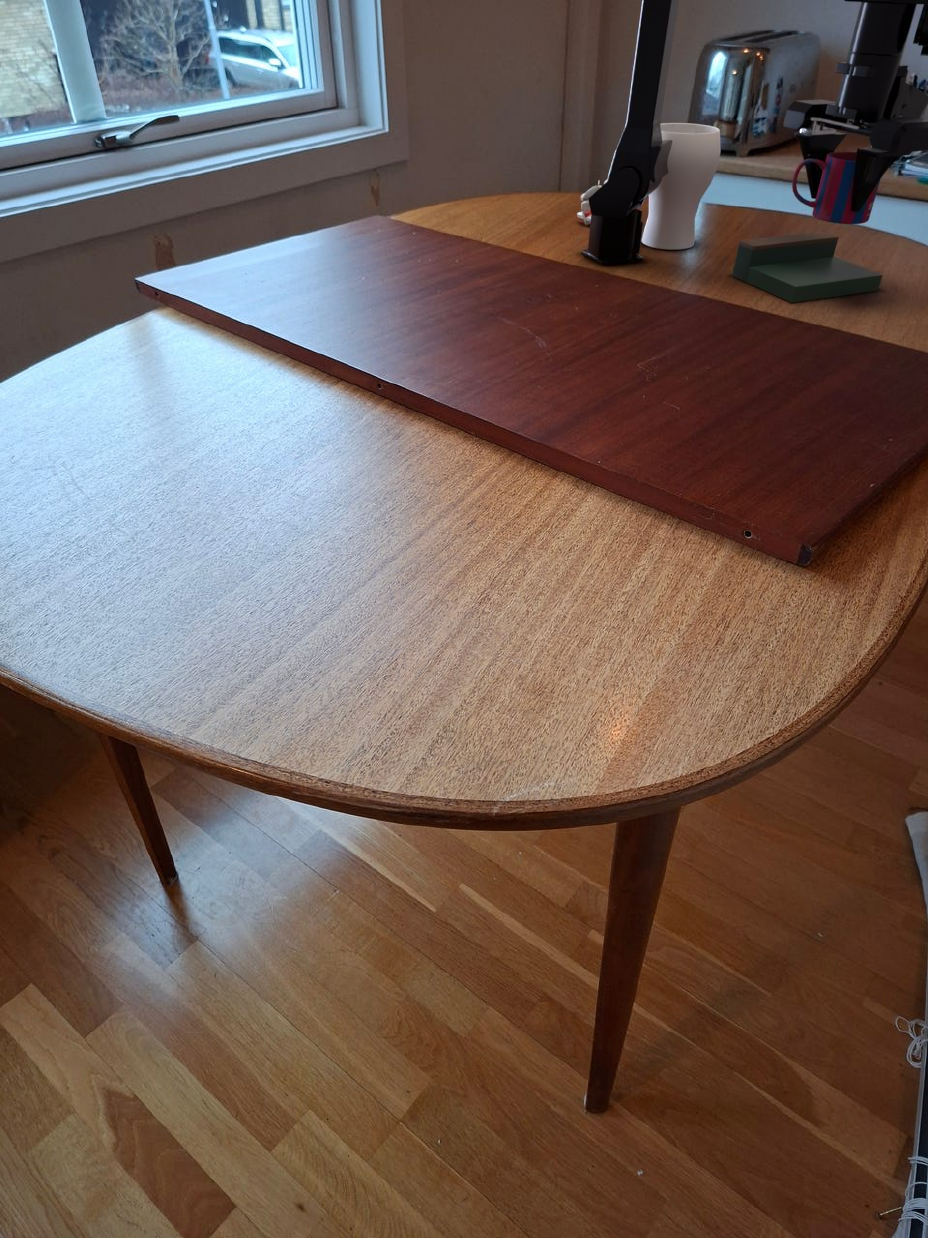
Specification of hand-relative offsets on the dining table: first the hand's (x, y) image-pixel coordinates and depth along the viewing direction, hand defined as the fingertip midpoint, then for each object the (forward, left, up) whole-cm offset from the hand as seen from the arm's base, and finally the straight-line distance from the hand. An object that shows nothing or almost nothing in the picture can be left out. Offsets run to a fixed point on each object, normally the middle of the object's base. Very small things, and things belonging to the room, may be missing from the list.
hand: (835, 204), depth 104 cm
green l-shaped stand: (0, +2, -10) cm, 10 cm away
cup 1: (-6, +25, -10) cm, 27 cm away
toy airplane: (-9, +39, -10) cm, 41 cm away
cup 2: (0, +1, -2) cm, 2 cm away
